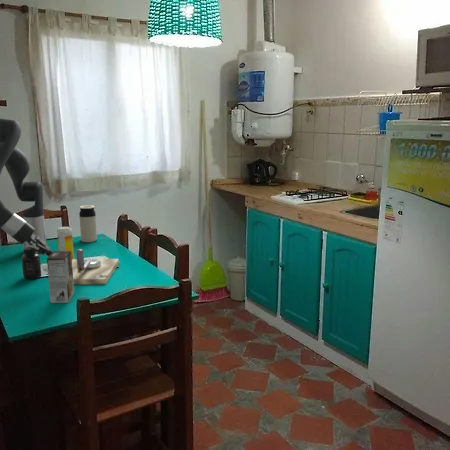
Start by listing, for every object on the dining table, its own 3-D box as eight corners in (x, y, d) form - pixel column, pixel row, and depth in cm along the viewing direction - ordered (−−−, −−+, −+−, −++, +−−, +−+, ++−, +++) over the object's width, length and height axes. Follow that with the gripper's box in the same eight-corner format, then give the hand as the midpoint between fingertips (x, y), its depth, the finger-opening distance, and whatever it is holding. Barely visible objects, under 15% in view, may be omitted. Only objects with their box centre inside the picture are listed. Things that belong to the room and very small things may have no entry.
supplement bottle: (45, 275, 192) (42, 246, 189) (33, 280, 185) (30, 251, 183) (31, 273, 194) (28, 245, 191) (19, 278, 187) (16, 249, 185)
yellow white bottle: (76, 258, 215) (73, 226, 211) (70, 262, 209) (68, 229, 205) (63, 258, 215) (60, 226, 212) (57, 262, 209) (54, 229, 206)
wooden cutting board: (52, 284, 181) (52, 278, 181) (72, 263, 208) (72, 258, 207) (106, 284, 182) (106, 278, 181) (119, 263, 208) (119, 258, 208)
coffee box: (56, 293, 172) (53, 250, 168) (74, 293, 172) (71, 250, 169) (49, 303, 163) (45, 258, 159) (68, 302, 163) (65, 257, 160)
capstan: (81, 262, 201) (80, 238, 199) (103, 262, 202) (101, 238, 199) (67, 278, 181) (65, 252, 179) (91, 278, 182) (89, 252, 179)
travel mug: (100, 239, 249) (98, 205, 245) (89, 243, 242) (87, 208, 238) (88, 238, 252) (86, 204, 248) (77, 241, 245) (75, 207, 241)
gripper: (23, 224, 168) (62, 255, 174) (27, 217, 181) (63, 246, 186) (8, 240, 168) (47, 270, 174) (13, 232, 180) (50, 260, 186)
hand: (55, 258), depth 180 cm, fingers closed
